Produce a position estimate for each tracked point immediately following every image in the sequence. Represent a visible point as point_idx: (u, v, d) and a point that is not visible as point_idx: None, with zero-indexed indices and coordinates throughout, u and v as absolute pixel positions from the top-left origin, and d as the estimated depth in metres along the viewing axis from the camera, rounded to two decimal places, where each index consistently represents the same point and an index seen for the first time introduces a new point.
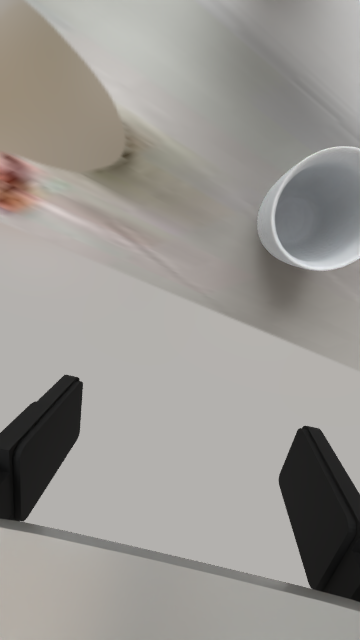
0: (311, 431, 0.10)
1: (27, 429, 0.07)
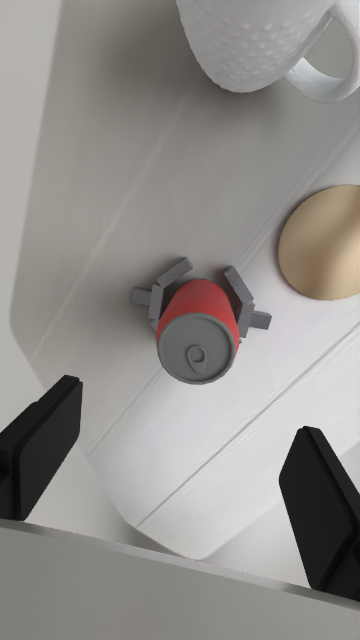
0: (311, 431, 0.10)
1: (27, 429, 0.07)
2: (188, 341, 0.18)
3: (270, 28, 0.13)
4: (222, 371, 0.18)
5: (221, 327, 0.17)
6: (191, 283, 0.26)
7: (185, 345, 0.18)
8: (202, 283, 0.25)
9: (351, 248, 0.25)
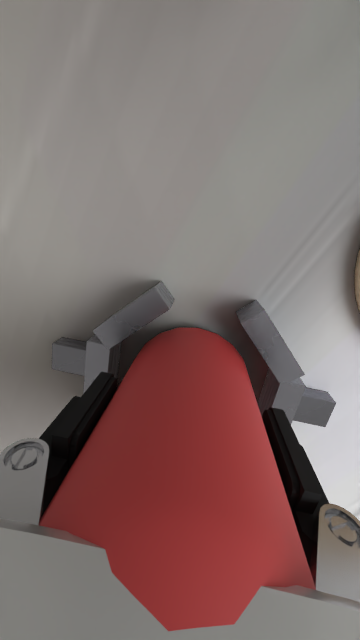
0: (274, 411, 0.10)
1: (79, 420, 0.08)
2: None
3: None
4: None
5: None
6: (167, 343, 0.12)
7: None
8: (191, 347, 0.11)
9: None
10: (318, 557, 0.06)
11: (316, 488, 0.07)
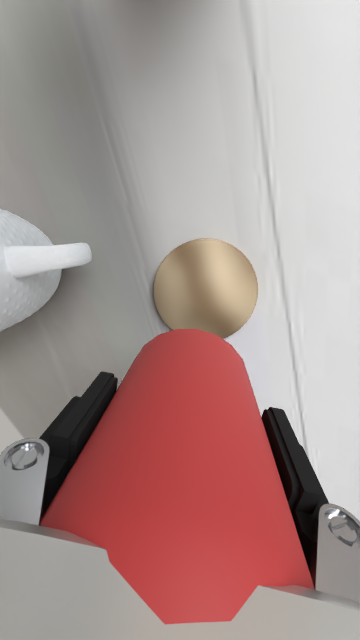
0: (274, 411, 0.10)
1: (79, 420, 0.08)
2: None
3: (1, 319, 0.19)
4: None
5: None
6: (165, 345, 0.11)
7: None
8: (189, 349, 0.11)
9: (214, 284, 0.27)
10: (318, 557, 0.06)
11: (316, 489, 0.07)
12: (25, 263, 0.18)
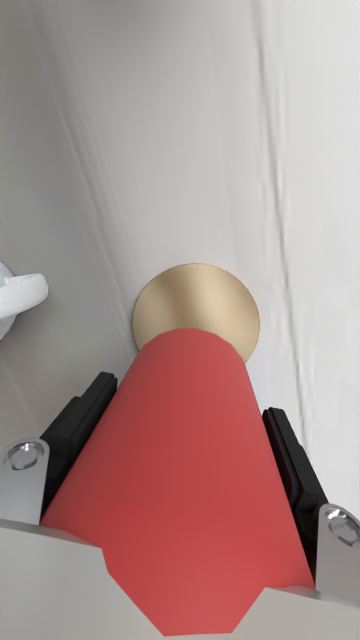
0: (274, 411, 0.10)
1: (79, 420, 0.08)
2: None
3: None
4: None
5: None
6: (165, 345, 0.11)
7: None
8: (189, 348, 0.11)
9: (206, 318, 0.22)
10: (318, 557, 0.06)
11: (316, 489, 0.07)
12: None
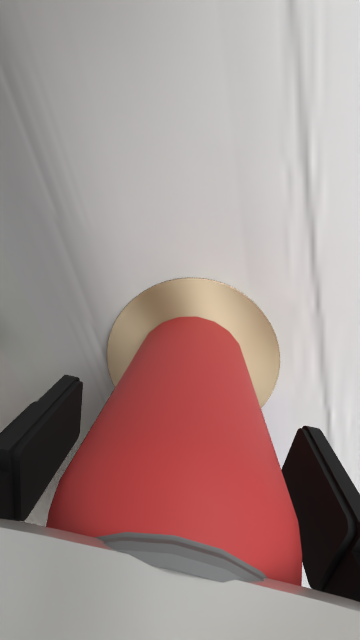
0: (311, 431, 0.10)
1: (27, 429, 0.07)
2: None
3: None
4: None
5: None
6: (169, 330, 0.13)
7: None
8: (191, 332, 0.12)
9: None
10: None
11: None
12: None
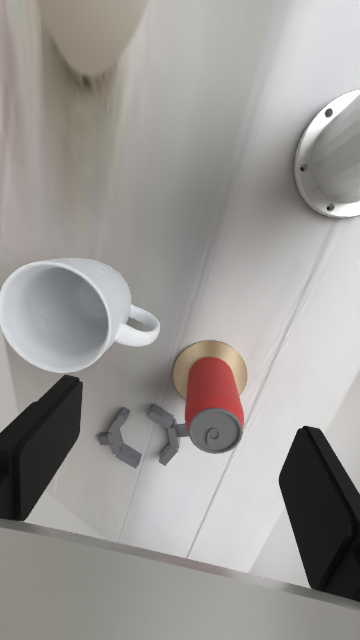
0: (311, 431, 0.10)
1: (27, 429, 0.07)
2: (213, 424, 0.26)
3: None
4: (223, 450, 0.27)
5: (238, 426, 0.26)
6: (217, 364, 0.34)
7: (210, 425, 0.26)
8: (225, 369, 0.34)
9: None
10: None
11: None
12: (128, 340, 0.26)
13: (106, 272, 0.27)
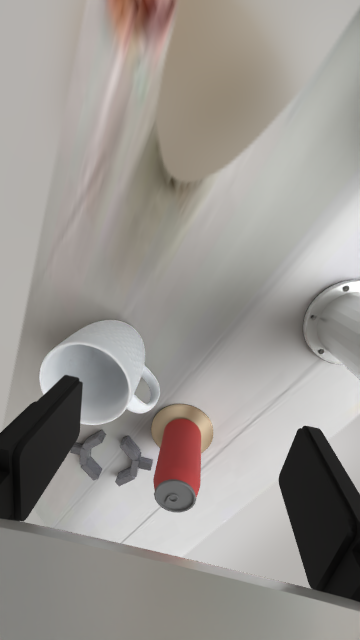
0: (311, 431, 0.10)
1: (27, 429, 0.07)
2: (175, 490, 0.34)
3: None
4: (175, 510, 0.34)
5: (193, 498, 0.33)
6: (192, 430, 0.41)
7: (172, 490, 0.34)
8: (197, 437, 0.41)
9: None
10: None
11: None
12: (134, 409, 0.32)
13: (135, 351, 0.32)
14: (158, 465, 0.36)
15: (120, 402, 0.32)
